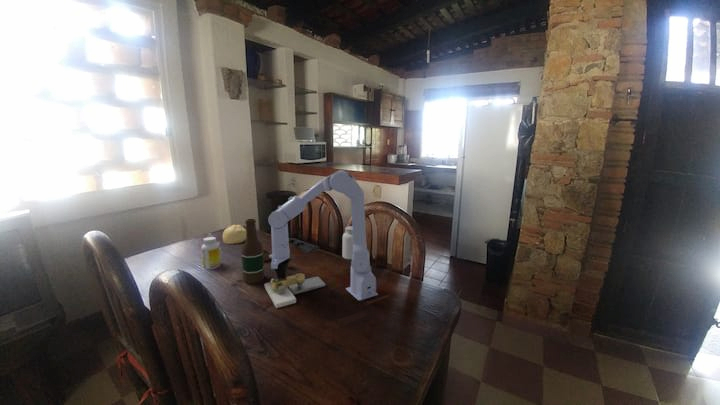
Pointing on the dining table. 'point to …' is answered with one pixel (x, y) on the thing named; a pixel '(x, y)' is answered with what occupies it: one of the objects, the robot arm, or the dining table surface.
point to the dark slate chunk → (303, 245)
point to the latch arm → (287, 281)
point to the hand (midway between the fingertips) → (281, 279)
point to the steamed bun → (234, 234)
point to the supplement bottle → (210, 253)
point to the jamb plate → (307, 285)
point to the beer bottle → (252, 255)
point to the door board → (280, 295)
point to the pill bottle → (348, 243)
